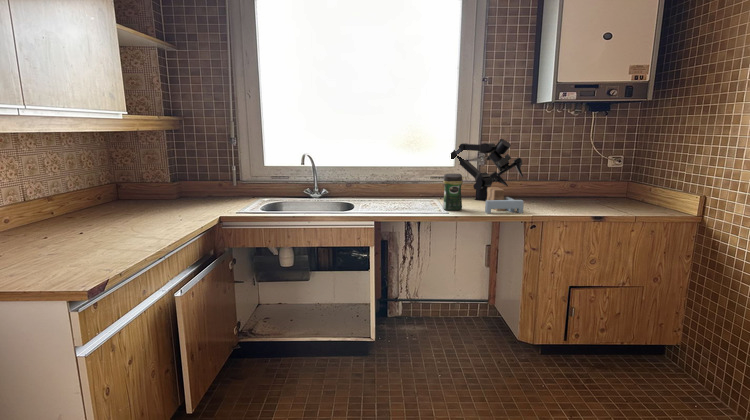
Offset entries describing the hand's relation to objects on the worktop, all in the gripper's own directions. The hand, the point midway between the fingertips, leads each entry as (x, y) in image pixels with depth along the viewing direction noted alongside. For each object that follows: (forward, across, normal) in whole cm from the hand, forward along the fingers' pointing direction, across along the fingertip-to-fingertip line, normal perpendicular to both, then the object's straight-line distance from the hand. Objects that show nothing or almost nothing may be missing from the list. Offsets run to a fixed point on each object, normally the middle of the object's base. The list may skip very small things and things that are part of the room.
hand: (515, 181), depth 234 cm
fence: (+13, -17, -9) cm, 23 cm away
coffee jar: (+1, -37, -13) cm, 39 cm away
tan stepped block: (+8, -17, -3) cm, 19 cm away
